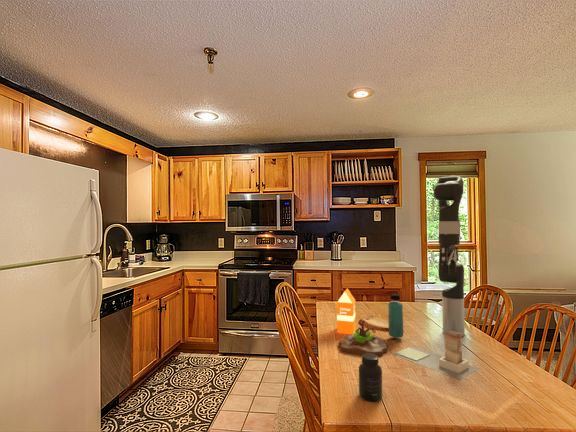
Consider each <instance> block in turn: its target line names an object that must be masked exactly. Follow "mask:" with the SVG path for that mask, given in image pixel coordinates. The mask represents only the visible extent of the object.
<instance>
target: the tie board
mask: <svg viewBox="0 0 576 432" xmlns="http://www.w3.org/2000/svg"><path fill="white" fill-rule="evenodd" d="M392 355H395V356H396V357H398V358H400V359H404V360H407V361H410V362H412V363H415V364H417V365H420V366H422V367H425V368H428V369H430V370H433V371H436V372H438V373H440V374H443V375H446V376H449V377H450V378H453V379H456V380H459V381H461V380H463V379H465V378H466V377H467V376H469V375H471V374H473V373H475V372H477V371H478V370H479V369H480V367H476V366H473V365H471V364H469V360H468V359H464V358H462V362H461V363H459V364H455V363H452V362H449V361H446V360H445V355H444V356H443V355H440V354H438V353H435V352H432V351H429V350H426V349H423V348H419V347H418V346H414V345H412V346H411V345H410V346H408V347H407V348H403V349H401V350H399V351H396V352H393V353H392Z"/></svg>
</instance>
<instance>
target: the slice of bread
mask: <svg viewBox="0 0 576 432" xmlns="http://www.w3.org/2000/svg"><path fill="white" fill-rule="evenodd" d="M362 320H365V323H364V324H363V325H364V328H367V329H369V328H373V329H375V330H376V331H383V332H389V329H388V327H389V326H388V325H389V319H385V318H382V317H377V316H375V315H371V314H370V315H367V316H365V317H362V318H360V319H359V320H358V323H359V324H360V325H361V326H362Z"/></svg>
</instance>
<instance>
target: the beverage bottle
mask: <svg viewBox="0 0 576 432" xmlns="http://www.w3.org/2000/svg"><path fill="white" fill-rule="evenodd" d="M390 300H391V301H390V302H389V303H388V304H387V305H388V309H387V311H388V319H387V320H388V321H389V325H388V326H389V327H388V329H389V331H388V335H389V336H390V337H391V338H395V339H397V338H398V339H399V338H400V339H401V338H403V337H404V311H403V306H404V305H403V303H402V302H401V301H400V300H401V296H400V294H398V293H391V294H390Z"/></svg>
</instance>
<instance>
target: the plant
mask: <svg viewBox="0 0 576 432" xmlns="http://www.w3.org/2000/svg"><path fill="white" fill-rule="evenodd" d="M364 323H365V320H362V325H361V327H360V326H359V327H358V328H357V329H355V330H354V333H353V334H346V335H345V336H344V337H343V338H342V339H339V340H338V348H339V351H341V352H342V353H345V354H350V355H359V356H362V355H363V354H367V353H370V354H375V355H377V356H378V357H383V355H384V354H387V353H388V345H387V344H388V343H387V340H386V339H384V338H382V337H380V336H376V335H375V334H376V332H377V330H376V329H373V328H366V330H365V326H364V325H363V324H364ZM370 330H371V331H372V332H371V331H370ZM372 333H374V334H373V335H371V334H372Z"/></svg>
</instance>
